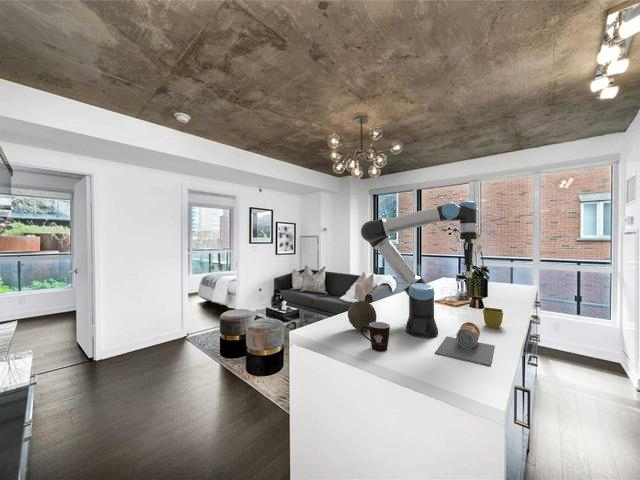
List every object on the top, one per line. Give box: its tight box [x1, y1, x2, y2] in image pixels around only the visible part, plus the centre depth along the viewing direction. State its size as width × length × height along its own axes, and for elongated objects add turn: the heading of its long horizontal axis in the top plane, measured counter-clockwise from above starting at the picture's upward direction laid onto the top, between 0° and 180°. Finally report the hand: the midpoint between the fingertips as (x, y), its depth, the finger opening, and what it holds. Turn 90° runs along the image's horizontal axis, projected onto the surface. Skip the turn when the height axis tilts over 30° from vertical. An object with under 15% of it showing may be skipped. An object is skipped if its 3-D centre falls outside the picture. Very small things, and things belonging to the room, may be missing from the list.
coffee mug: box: [359, 321, 391, 353], centre depth 115 cm, size 12×9×10 cm
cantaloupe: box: [347, 300, 377, 332], centre depth 136 cm, size 14×14×15 cm
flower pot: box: [482, 306, 504, 329], centre depth 143 cm, size 9×9×9 cm
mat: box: [434, 336, 496, 367], centre depth 112 cm, size 19×23×1 cm
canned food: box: [455, 321, 481, 348], centre depth 118 cm, size 8×8×12 cm
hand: (468, 277), depth 139 cm, fingers closed
